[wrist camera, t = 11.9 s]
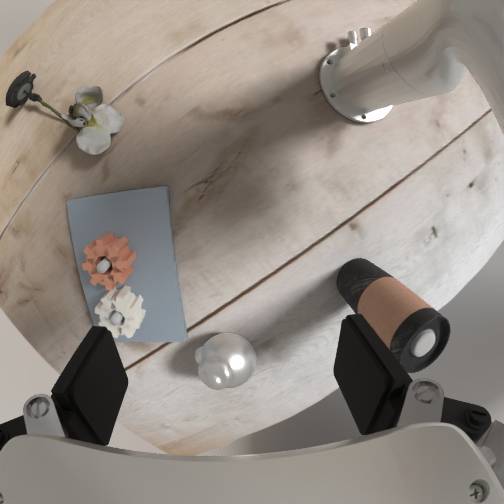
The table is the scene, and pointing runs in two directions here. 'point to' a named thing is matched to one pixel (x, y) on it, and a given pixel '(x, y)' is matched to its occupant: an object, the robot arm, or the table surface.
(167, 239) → the gear board
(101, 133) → the artificial flower
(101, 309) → the cream gear
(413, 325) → the travel mug
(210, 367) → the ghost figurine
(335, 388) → the table surface
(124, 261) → the terracotta gear
